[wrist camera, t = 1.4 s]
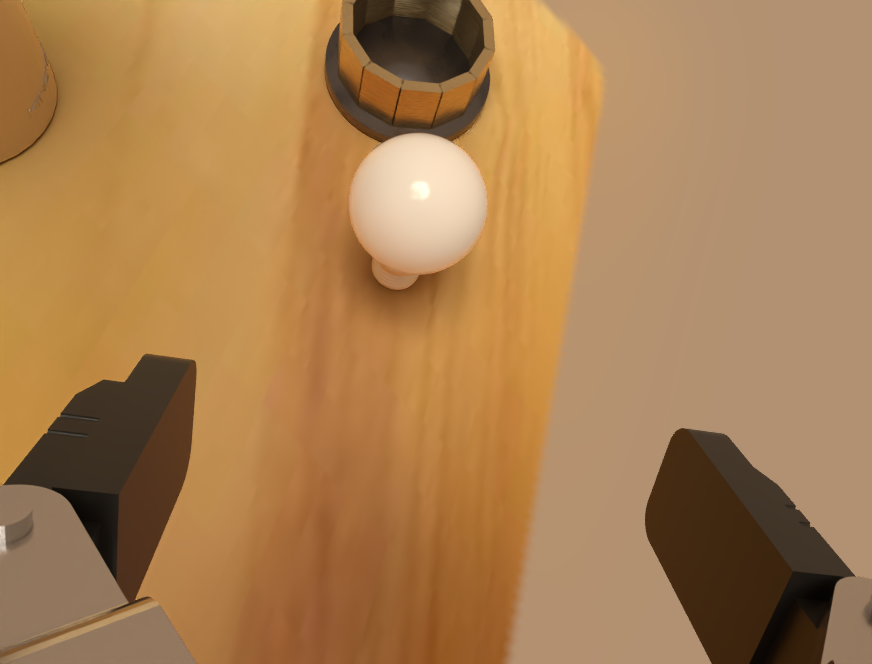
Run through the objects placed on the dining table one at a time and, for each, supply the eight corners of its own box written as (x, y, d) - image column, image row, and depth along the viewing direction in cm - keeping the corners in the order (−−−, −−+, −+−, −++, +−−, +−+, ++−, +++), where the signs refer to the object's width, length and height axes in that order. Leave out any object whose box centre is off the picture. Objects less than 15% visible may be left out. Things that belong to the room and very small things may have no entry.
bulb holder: (323, 141, 42) (328, 93, 38) (325, 2, 46) (330, -56, 41) (490, 154, 44) (511, 110, 40) (481, 20, 47) (500, -34, 43)
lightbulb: (408, 202, 42) (448, 82, 32) (471, 290, 41) (533, 194, 31) (314, 252, 40) (325, 141, 30) (378, 346, 39) (412, 264, 29)
